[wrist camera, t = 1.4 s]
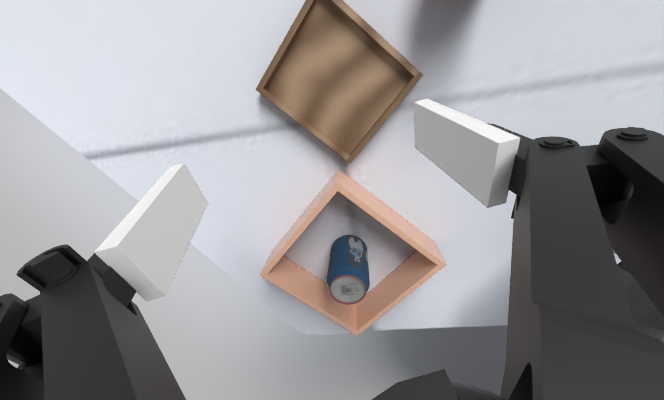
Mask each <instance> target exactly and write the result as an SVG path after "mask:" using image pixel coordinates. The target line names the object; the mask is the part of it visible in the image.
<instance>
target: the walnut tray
mask: <svg viewBox="0 0 664 400" xmlns="http://www.w3.org/2000/svg"><path fill="white" fill-rule="evenodd" d="M422 76H423V74H422V73H421V72H419V71H418V70H417V69H416V68H415V67H414V66H413V65H412V64H411V63H410V62H409V61H408V60H406V59H405V58H404V57H403V56H402V55H401V54H400V53H399V52H398V51H397V50H396V49H395V48H394V47H392V46H391V45H390V44H389V43H388V42H387V41H386V40H385V39H384V38H383V37H382V36H381V35H379V34H378V33H377V32H376V31H375V30H374V29H373V28H372V27H371V26H370V25H369V24H368V23H366V22H365V21H364V20H363V19H362V18H361V17H360V16H359V15H358V14H357V13H356V12H355V11H354V10H352V9H351V8H350V7H349V6H348V5H347V4H346V3H345V2H344V1H343V0H306V1H305V3H304V5H303V7H302V8H301V10H300V12H299V14H298V15H297V17H296V19H295V21H294V23H293V24H292V26H291V28H290V30H289V31H288V33H287V35H286V37H285V38H284V40H283V42H282V44H281V46H280V47H279V49H278V51H277V53H276V54H275V56H274V58H273V60H272V61H271V63H270V65H269V67H268V69H267V70H266V72H265V74H264V76H263V77H262V79H261V81H260V83H259V84H258V86H257V88H256V90H257V91H258V92H259V93H261V94H262V95H263V96H265V97H266V98H267V99H268V100H270V101H271V102H272V103H274V104H275V105H276V106H277V107H279V108H280V109H281V110H283V111H284V112H285V113H286V114H288V115H289V116H290V117H292V118H293V119H294V120H295V121H297V122H298V123H299V124H301V125H302V126H303V127H304V128H306V129H307V130H308V131H309V132H311V133H312V134H313V135H315V136H316V137H317V138H318V139H320V140H321V141H322V142H324V143H325V144H326V145H327V146H329V147H330V148H331V149H333V150H334V151H335V152H336V153H338V154H339V155H340V156H342V157H343V158H344V159H345V160H347V161H348V162H349V163H351V162H352V161H353V159H354V158H355V157H356V156H357V154H358V153H359V152H360V151H361V150H362V148H363V147H364V146H365V145H366V144H367V142H368V141H369V140H370V139H371V138H372V136H373V135H374V134H375V133H376V131H377V130H378V129H379V128H380V127H381V125H382V124H383V123H384V122H385V121H386V119H387V118H388V117H389V116H390V115H391V113H392V112H393V111H394V110H395V108H396V107H397V106H398V105H399V104H400V102H401V101H402V100H403V99H404V98H405V96H406V95H407V94H408V93H409V92H410V90H411V89H412V88H413V87H414V85H415V84H416V83H417V82H418V81H419V79H420V78H421V77H422Z"/></svg>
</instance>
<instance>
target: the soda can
mask: <svg viewBox="0 0 664 400" xmlns="http://www.w3.org/2000/svg"><path fill="white" fill-rule="evenodd" d="M327 286H328V288H329V291H330V294H331V296H332V298H333V299H334V300H336V301H337V302H339V303H341V304H345V305H351V304H356V303H358V302H360V301H361V300H362V299H363V298H364V297H365V295H366V292H367V290H368V288H369V270H368V256H367V247H366V245H365V243H364V242H363V241H362V240H361V239H360V238H358V237H356V236H353V235H345V236H342V237H340V238H338V239H337V240H336V241H335V242H334V243H333V245H332V248H331V255H330V262H329V269H328V276H327Z"/></svg>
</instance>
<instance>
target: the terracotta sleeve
mask: <svg viewBox="0 0 664 400" xmlns="http://www.w3.org/2000/svg"><path fill="white" fill-rule="evenodd" d="M337 191H338V192H340V193H341V194H342V195H344V196H345V197H347V198H348V199H349V200H351V201H352V202H353V203H355V204H356V205H357V206H359V207H360V208H361V209H363V210H364V211H365V212H367V213H368V214H369V215H371V216H372V217H373V218H375V219H376V220H377V221H379V222H380V223H381V224H383V225H384V226H385V227H387V228H388V229H390V230H391V231H392V232H394V233H395V234H396V235H398V236H399V237H400V238H402V239H403V240H404V241H406V242H407V243H408V244H410V245H411V246H412V247H414V248H415V249H416V250H417V251H416V252H414V253H413V254H412V255H411V256H410V257H409V258H408V259H406V260H405V261H404V262H403V263H402V264H401V265H400V266H398V267H397V268H396V269H395V270H394V271H393V272H392V273H390V274H389V275H388V276H387V277H386V278H385V279H384V280H382V281H381V282H380V283H379V284H378V285H377V286H376V287H374V288H373V289H372V290H371V291H370V292H369V293H368V294H366V295H365V297H364V298H363V299H362V300H361V301H360V302H358V303H356V304H351V305H345V304H341V303H339V302H337V301H336V300H334V299H333V298H332V296H331V294H330V291H329V288H328V286H327V284H326V283H325V282H323V281H322V280H320V279H319V278H317V277H315V276H314V275H312V274H311V273H309V272H308V271H306V270H305V269H303V268H302V267H300V266H299V265H297V264H296V263H294V262H292V261H291V260H289V259H288V258H286V257H285V256H283V255H284V254H285V253H286V251H287V250H288V249H289V248H290V247H291V246H292V244H293V243H294V242H295V241H296V240H297V238H298V237H299V236H300V235H301V234H302V233H303V231H304V230H305V229H306V228H307V227H308V225H309V224H310V223H311V222H312V221H313V220H314V218H315V217H316V216H317V215H318V214H319V212H320V211H321V210H322V209H323V208H324V207H325V205H326V204H327V203H328V202H329V201H330V199H331V198H332V197H333V196H334V195H335V194H336V192H337ZM444 266H446V263H445V261H444V259H443V257H442V255H441V253H440V252H439V250H438V248H437V246H436V244H435V242H434V241H433V240H432V239H430V238H429V237H428V236H426V235H425V234H424V233H423V232H421V231H420V230H419V229H417V228H416V227H415V226H413V225H412V224H411V223H409V222H408V221H407V220H406V219H404V218H403V217H402V216H400V215H399V214H398V213H396V212H395V211H394V210H393V209H391V208H390V207H389V206H387V205H386V204H385V203H383V202H382V201H381V200H379V199H378V198H377V197H376V196H374V195H373V194H372V193H370V192H369V191H368V190H366V189H365V188H364V187H362V186H361V185H360V184H359V183H357V182H356V181H355V180H353V179H352V178H351V177H349V176H348V175H347V174H346V173H344V172H343V171H342V170H340V169H338V171H337V172H336V173H335V174H334V176H333V177H332V178H331V179H330V181H329V182H328V183H327V184H326V185H325V187H324V188H323V189H322V190H321V192H320V193H319V194H318V195H317V197H316V198H315V199H314V200H313V201H312V203H311V204H310V205H309V206H308V208H307V209H306V210H305V211H304V213H303V214H302V215H301V216H300V217H299V219H298V220H297V221H296V222H295V224H294V225H293V226H292V227H291V228H290V230H289V231H288V232H287V233H286V235H285V236H284V237H283V238H282V240H281V241H280V242H279V243H278V244H277V246H276V247H275V248H274V249H273V251H272V252H271V254H270V255H269V257H268V259H267V261H266V263H265V265H264V267H263V269H262V271H261V273H260V276H262V277H263V278H265V279H267V280H268V281H270V282H271V283H273V284H275V285H276V286H278V287H280V288H281V289H283V290H284V291H286V292H288V293H289V294H291V295H292V296H294V297H296V298H297V299H299V300H300V301H302V302H304V303H305V304H307V305H308V306H310V307H312V308H313V309H315V310H316V311H318V312H320V313H321V314H323V315H325V316H326V317H328V318H329V319H331V320H333V321H334V322H336V323H337V324H339V325H341V326H342V327H344V328H345V329H347V330H349V331H350V332H352V333H354V334H355V335H357V336H358V335H359V334H360V333H362V332H363V331H364V330H365V329H367V328H368V327H369V326H370V325H372V324H373V323H374V322H375V321H377V320H378V319H379V318H380V317H382V316H383V315H384V314H385V313H387V312H388V311H389V310H390V309H392V308H393V307H394V306H395V305H397V304H398V303H399V302H400V301H402V300H403V299H404V298H406V297H407V296H408V295H409V294H411V293H412V292H413V291H414V290H416V289H417V288H418V287H419V286H421V285H422V284H423V283H424V282H426V281H427V280H428V279H429V278H431V277H432V276H433V275H434V274H436V273H437V272H438V271H439V270H441V269H442V268H443V267H444Z"/></svg>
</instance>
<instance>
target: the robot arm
mask: <svg viewBox="0 0 664 400" xmlns="http://www.w3.org/2000/svg"><path fill="white" fill-rule="evenodd" d="M414 124H415V148H416V149H417V150H418V151H420V152H421V153H422V154H423V155H424V156H426V157H427V158H428V159H429V160H430V161H432V162H433V163H434V164H435V165H437V166H438V167H439V168H440V169H441V170H443V171H444V172H445V173H446V174H447V175H449V176H450V177H451V178H452V179H453V180H455V181H456V182H457V183H458V184H459V185H461V186H462V187H463V188H464V189H465V190H467V191H468V192H469V193H470V194H471V195H473V196H474V197H475V198H476V199H477V200H479V201H480V202H481V203H482V204H483V205H485V206H486V207H487V208H489V207H493V206H496V205H500V204H503V203H506V200H507V195H508V191H509V190H510V191H512V192H513V193H515V194H516V195H517V196H516V200H515V204H514V208H513V212H512V216H511V218H513V219H514V224H513V242H512V260H511V277H510V295H509V313H508V333H507V349H506V364H505V372H504V377H503V382H502V388H501V396H499V395H496V394H494V393H492V392H489V391H487V390H484V389H480V388H477V387H474V386H470V385H464V384H459V383H458V384H457V383H451V382H450V380H449V378H448V376H447V374H446V372H445V370H444V369H443V370H440V371H436V372H433V373H429V374H426V375H422V376H419V377H415V378H412V379H409V380H405V381H401V382H398V383H396V384H394V385H393V386H391V387H390V388H388V389H387V390H385V391H384V392H382V393H381V394H380V395H378V396H377V397H375V398H374V399H372V400H664V136H663V135H662V134H659V133H657V132H654V131H650V130H645V129H644V128H636V127H628V128H619V129H611V130H609V131H606V132H605V133H604V134H603V136H602V138H601V140H600V143H599V145H591V146H580V145H579V144H578V143H577V142H576V141H574V140H571V139H568V138H563V137H541V138H536V139H534V140H532V139H530V138H527V137H525V136H522V135H520V134H517V133H515V132H512V131H510V130H507V129H504V128H502V127H500V126H497V125H495V124H489V123H484V122H482V121H480V120H477V119H475V118H472V117H470V116H468V115H465V114H463V113H460V112H458V111H456V110H453V109H451V108H448V107H446V106H444V105H441V104H439V103H436V102H434V101H432V100H429V99H424V100H420V101H416V102H414ZM207 205H208V202H207V200H206V198H205V197H204V195H203V193H202V192H201V190H200V188H199V187H198V185H197V183H196V182H195V180H194V179H193V177H192V175H191V174H190V172H189V170H188V169H187V167H186V165H185V164H184V163H182V164H178V165H174V166H171V167H170V168H169V169H168V170H167V171H166V172H165V173H164V174H163V175H162V177H161V178H160V179H159V180H158V181H157V182H156V183H155V184H154V186H153V187H152V188H151V189H150V190H149V191H148V192H147V193H146V195H145V196H144V197H143V198H142V199H141V200H140V201H139V202H138V203H137V205H136V206H135V207H134V208H133V209H132V210H131V211H130V213H129V214H128V215H127V216H126V217H125V218H124V219H123V220H122V221H121V223H120V224H119V225H118V226H117V227H116V228H115V229H114V230H113V232H112V233H111V234H110V235H109V236H108V237H107V238H106V239H105V241H104V242H103V243H102V244H101V245H100V246H99V247H98V249H97V250H96V251H95V252H94V254H93V255H92V256H91V258H90V259H89V260H88V261H86V260H85V259H84V258H82V257H81V256H80V255H79V254H78V253H77V252H76V251H74V250H73V249H72V248H71V247H70V246H69V245H60V246H57V247H54V248H52V249H50V250H47V251H45V252H43V253H42V254H40V255H38V256H36V257H35V258H33V259H32V260H30V261H29V262H28V263H26V264H25V265H24V266H23V267H22V268H21V269H20V270H19V271H18V273H17V275H18V276H19V277H20V278H22V279H23V280H24V281H26V282H28V283H29V284H30V285H32V286H33V287H35V288H36V289H37V290H39V291H40V295H38V296H36V297H34V298H32V299H29V300H27V301H25V302H24V301H23V300H21V299H20V298H18V297H17V296H15V295H13V294H5V295H2V296H0V400H186V399H185V397H184V395H183V393H182V391H181V389H180V387H179V385H178V383H177V381H176V379H175V378H174V376H173V374H172V372H171V370H170V368H169V366H168V364H167V362H166V360H165V358H164V356H163V354H162V352H161V351H160V349H159V347H158V345H157V343H156V341H155V339H154V337H153V335H152V333H151V331H150V329H149V327H148V325H147V324H146V322H145V320H144V318H143V316H142V314H141V312H140V310H139V308H138V306H137V305H135V304H134V303H133V302H132V301H131V300H132V298H133V296H134V294H135V293H136V292H137V293H138V294H139V295H140V296H141V297H142V298H143V299H144V300H146V301H149V300H152V299H156V298H160V297H163V296H166V294H167V291H168V289H169V287H170V285H171V283H172V281H173V279H174V276H175V274H176V272H177V270H178V268H179V265H180V263H181V261H182V259H183V257H184V254H185V253H186V250H187V248H188V246H189V244H190V242H191V240H192V237H193V235H194V233H195V231H196V229H197V227H198V224H199V222H200V220H201V218H202V216H203V214H204V211H205V209H206V207H207ZM613 253H616V254H617V255H618V257H619V258H620V259H621V262H620V263H618V264H616V261H615V257H614V254H613ZM8 360H10V361H12V362H14V363H16V364H19V366H18V368H16V367H14V366H13V365H11V364H10V363H9V362H8Z"/></svg>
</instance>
